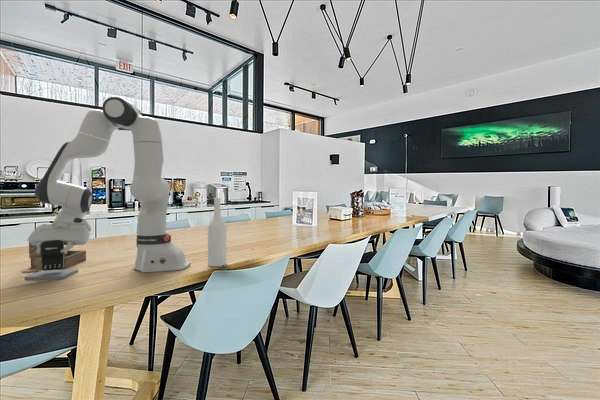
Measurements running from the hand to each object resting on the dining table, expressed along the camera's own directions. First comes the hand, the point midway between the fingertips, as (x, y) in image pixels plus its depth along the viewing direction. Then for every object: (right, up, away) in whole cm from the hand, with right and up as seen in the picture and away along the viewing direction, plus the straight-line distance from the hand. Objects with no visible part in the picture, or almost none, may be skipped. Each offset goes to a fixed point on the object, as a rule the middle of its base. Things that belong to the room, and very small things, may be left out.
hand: (51, 253), depth 119 cm
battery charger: (0, -7, +1) cm, 7 cm away
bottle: (+58, -9, +21) cm, 62 cm away
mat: (0, -9, +1) cm, 9 cm away
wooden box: (-10, -8, +15) cm, 20 cm away
